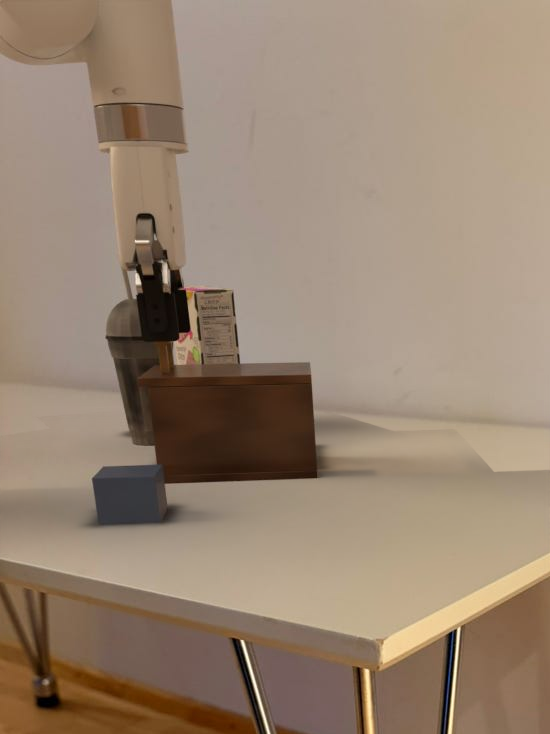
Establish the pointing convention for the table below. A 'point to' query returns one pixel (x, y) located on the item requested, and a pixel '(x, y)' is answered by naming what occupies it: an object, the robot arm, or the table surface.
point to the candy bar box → (209, 328)
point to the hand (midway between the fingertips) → (168, 336)
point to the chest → (234, 432)
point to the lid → (221, 372)
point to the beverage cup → (132, 364)
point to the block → (130, 494)
